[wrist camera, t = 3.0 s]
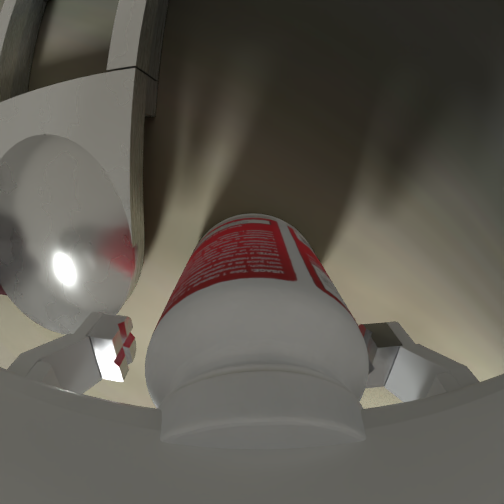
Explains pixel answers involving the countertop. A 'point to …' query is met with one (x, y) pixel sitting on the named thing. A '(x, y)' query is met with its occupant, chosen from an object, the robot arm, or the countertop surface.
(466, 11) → the countertop surface
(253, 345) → the pill bottle
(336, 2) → the countertop surface
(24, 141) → the flat tray with frame
